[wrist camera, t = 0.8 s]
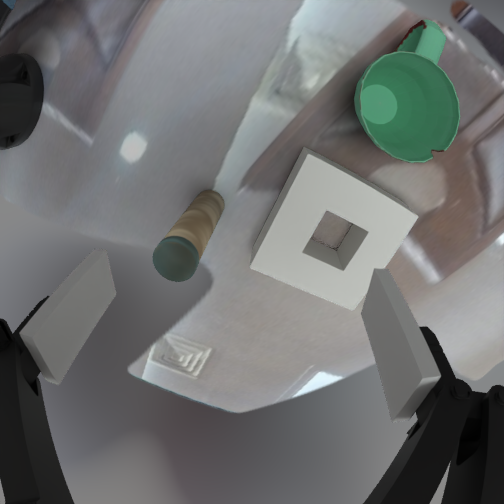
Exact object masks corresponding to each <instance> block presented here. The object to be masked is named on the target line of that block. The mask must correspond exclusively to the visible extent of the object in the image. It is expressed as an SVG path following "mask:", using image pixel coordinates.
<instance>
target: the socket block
mask: <svg viewBox="0 0 504 504" xmlns="http://www.w3.org/2000/svg"><path fill="white" fill-rule="evenodd" d="M326 210H328V211H330V212H332V213H334V214H335V215H337V216H339V217H341V218H343V219H345V220H347V221H349V222H351V223H353V225H352V226H351V228H350V230H349V231H348V233H347V235H346V236H345V238H344V239H343V241H342V243H341V244H340V246H339V247H338V249H337V251H336V250H334V249H332V248H330V247H328V246H325V245H323V244H321V243H319V242H317V241H315V240H313V239H311V236H312V234H313V233H314V231H315V229H316V227H317V226H318V224H319V222H320V220H321V219H322V217H323V215H324V213H325V212H326ZM418 217H419V216H417V215H416V214H415V213H414V212H413V211H412V210H411V209H410V208H409V207H408V206H407V205H406V204H405V203H403V202H402V201H401V200H399V199H398V198H396V197H394V196H393V195H391V194H389V193H388V192H386V191H385V190H383V189H381V188H380V187H378V186H376V185H374V184H373V183H371V182H369V181H368V180H366V179H364V178H362V177H361V176H359V175H357V174H355V173H354V172H352V171H350V170H348V169H346V168H345V167H343V166H341V165H339V164H337V163H335V162H333V161H332V160H330V159H328V158H326V157H324V156H322V155H320V154H318V153H316V152H314V151H312V150H310V149H308V148H306V147H303V149H302V151H301V153H300V155H299V157H298V159H297V161H296V163H295V165H294V167H293V169H292V171H291V173H290V175H289V177H288V179H287V181H286V183H285V185H284V187H283V189H282V191H281V193H280V195H279V197H278V199H277V201H276V203H275V205H274V207H273V209H272V210H271V212H270V214H269V216H268V218H267V220H266V222H265V224H264V226H263V228H262V230H261V232H260V234H259V236H258V238H257V240H256V242H255V244H254V246H253V249H252V255H251V260H250V266H249V268H251V269H253V270H255V271H258V272H260V273H262V274H265V275H267V276H270V277H272V278H274V279H277V280H279V281H282V282H284V283H286V284H289V285H291V286H294V287H296V288H298V289H301V290H303V291H306V292H308V293H310V294H313V295H315V296H318V297H320V298H323V299H325V300H327V301H330V302H332V303H335V304H337V305H340V306H342V307H345V308H347V309H350V310H352V311H353V310H354V309H355V308H356V306H357V305H358V304H359V302H360V301H361V300H362V298H363V297H364V296H365V294H366V293H367V292H368V288H369V285H370V281H371V278H372V274H373V270H374V268H378V269H384V268H385V267H386V265H387V264H388V263H389V261H390V260H391V258H392V257H393V255H394V254H395V252H396V251H397V249H398V248H399V246H400V245H401V243H402V242H403V240H404V239H405V237H406V236H407V234H408V233H409V231H410V229H411V228H412V226H413V225H414V223H415V222H416V220H417V218H418Z"/></svg>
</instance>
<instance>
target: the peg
mask: <svg viewBox="0 0 504 504" xmlns="http://www.w3.org/2000/svg"><path fill="white" fill-rule="evenodd" d="M223 210H224V200H223V198H222V197H221V195H220V194H219V193H217V192H215V191H212V190H206V191H203V192H201V193H200V194H199V195H198V196H197V197H196V198H195V200H194V201H193V202H192V203H191V205H190V206H189V207H188V208H187V210H186V211H185V212H184V213H183V215H182V216H181V217H180V218H179V220H178V221H177V222H176V223H175V225H174V226H173V227H172V229H171V230H170V231H169V232H168V234H167V235H166V236H165V238H164V239H163V240H162V241H161V242H160V243H159V244H158V246H157V247H156V248H155V250H154V253H153V263H154V266H155V268H156V270H157V271H158V272H159V273H160V274H161V275H162V276H163V277H165V278H166V279H168V280H171V281H175V282H181V281H185V280H188V279H189V278H191V277H192V276H193V274H194V272H195V271H196V268H197V266H198V264H199V260H200V258H201V256H202V254H203V252H204V250H205V248H206V246H207V243H208V241H209V239H210V237H211V235H212V233H213V231H214V229H215V227H216V225H217V222H218V220H219V218H220V216H221V214H222V212H223Z"/></svg>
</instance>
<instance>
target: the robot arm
mask: <svg viewBox="0 0 504 504" xmlns="http://www.w3.org/2000/svg"><path fill="white" fill-rule="evenodd" d="M15 2H16V0H0V30H1V28H2V26H3V24H4V22H5V20H6V19H7V17H8V15H9V13H10V12H11V10H13V8H14V4H15ZM42 100H43V80H42V74H41V71H40V68H39V66H38V64H37V62H36V61H35V60H34V58H32V57H31V56H30V55H27V54H9V55H6V56H3V57H1V58H0V150H4V149H9V148H11V147H14V146H17V145H19V144H21V143H22V142H24V141H25V140H26V139H27V138H28V137H29V135H30V134H31V132H32V131H33V129H34V127H35V125H36V123H37V120H38V117H39V114H40V111H41V106H42ZM115 296H116V290H115V286H114V282H113V277H112V273H111V268H110V264H109V260H108V254H107V250H103V249H94V250H93V251H92V252H91V253H90V254H89V255H88V256H87V257H86V258H85V259H84V260H83V261H82V262H81V263H80V265H78V266H77V267H76V268H75V269H74V271H73V272H72V273H71V274H70V275H69V276H68V277H67V278H66V279H65V280H64V281H63V283H62V284H61V285H60V286H59V287H58V288H57V289H56V290H55V291H54V292H53V293H52V295H51V296H47V297H46V298H44V299H43V300H41V301H40V302H39V303H38V304H37V305H36V307H35V308H34V310H32V311H31V312H30V313H29V316H27V317H26V319H24V321H23V322H22V323H21V324H20V325H19V327H18V328H17V329H16V330H15V332H14V333H13V334H12V332H11V330H10V328H9V326H8V324H7V322H6V321H5V320H4V319H0V479H1V484H2V488H3V492H4V496H5V504H74V502H73V499H72V497H71V494H70V492H69V489H68V486H67V484H66V481H65V478H64V475H63V473H62V469H61V466H60V463H59V460H58V457H57V454H56V450H55V447H54V443H53V440H52V437H51V432H50V428H49V424H48V420H47V416H46V411H45V406H44V401H43V396H42V390H41V385H40V381H39V379H38V377H37V376H38V375H39V373H40V372H41V373H42V375H43V376H44V378H45V379H46V381H49V382H51V383H54V384H57V385H60V383H61V381H62V379H63V378H64V376H65V374H66V372H67V371H68V369H69V367H70V366H71V364H72V362H73V361H74V359H75V357H76V355H77V354H78V352H79V351H80V349H81V348H82V346H83V344H84V343H85V341H86V340H87V338H88V336H89V335H90V333H91V332H92V330H93V329H94V327H95V325H96V324H97V322H98V321H99V319H100V318H101V316H102V315H103V313H104V312H105V310H106V309H107V307H108V306H109V304H110V303H111V301H112V300H113V298H114V297H115ZM361 315H362V318H363V321H364V324H365V328H366V331H367V334H368V337H369V340H370V344H371V347H372V350H373V354H374V357H375V361H376V364H377V367H378V371H379V375H380V378H381V382H382V386H383V389H384V393H385V397H386V401H387V404H388V409H389V413H390V417H391V421H392V423H393V422H400V421H407V420H410V418H411V417H412V416H413V415H414V413H415V412H416V415H417V418H418V420H417V422H416V423H415V424H414V425H413V426H412V427H411V429H410V430H409V431H408V432H407V434H408V437H407V438H406V440H405V442H404V444H403V445H402V447H401V449H400V450H399V452H398V454H397V456H396V457H395V459H394V460H393V462H392V463H391V465H390V467H389V468H388V469H387V471H386V472H385V474H384V475H383V477H382V479H381V480H380V481H379V483H378V484H377V486H376V487H375V488H374V490H373V491H372V493H371V494H370V495H369V497H368V498H367V499H366V501H365V502H364V503H363V504H429V503H430V501H431V500H432V498H433V496H434V494H435V492H436V490H437V488H438V486H439V484H440V482H441V480H442V478H443V476H444V474H445V472H446V470H447V467H448V465H449V463H450V467H449V472H448V477H447V482H446V486H445V490H444V495H443V498H442V503H441V504H504V387H503V386H501V385H495V386H492V387H491V389H490V390H489V391H488V392H487V393H482V392H475V391H472V389H471V388H470V386H469V385H468V384H467V383H466V382H464V381H463V380H460V379H456V377H455V375H454V373H453V371H452V368H451V366H450V364H449V362H448V360H447V358H446V356H445V354H444V353H443V349H442V347H441V345H439V344H440V343H439V341H438V339H437V337H436V336H435V334H434V333H433V332H432V331H431V330H430V329H429V328H428V327H419V326H418V324H417V322H416V320H415V318H414V316H413V314H412V312H411V310H410V308H409V306H408V304H407V302H406V300H405V299H404V297H403V295H402V293H401V291H400V289H399V287H398V286H397V284H396V282H395V280H394V278H393V276H392V275H391V273H390V271H389V269H378V268H374V270H373V274H372V278H371V281H370V285H369V288H368V292H367V295H366V299H365V302H364V305H363V309H362V312H361ZM450 461H451V462H450Z"/></svg>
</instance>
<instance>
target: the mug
mask: <svg viewBox="0 0 504 504" xmlns="http://www.w3.org/2000/svg"><path fill="white" fill-rule="evenodd" d="M445 41H446V36H445V35H444V34H443V32H442V30H441V29H440V27H439V26H438V25H437V24H436V23H435V22H432V21H430V20H421V21H420V22H418V23H417V24H416V25H414V26H413V27H411V28H410V30H409V31H408V33H407V34H406V35H405V37H404V38H403V40H402V41H401V43H400V44H399V45H398V47H397V48H396V50H395V51H394V52H393V53H389V54H386V55H383V56H381V57H379V58H378V59H377V60H376V61H374V62H373V63H372V64H370V65H369V66H368V67H367V69H366V70H365V72H364V73H363V75H362V77H361V78H360V80H359V82H358V83H357V87H356V92H355V97H354V103H355V112H356V114H357V116H358V119H359V121H360V123H361V125H362V126H363V128H364V130H365V132H366V133H367V135H368V136H369V137H370V138H371V140H372V141H373V142H374V144H375V145H376V146H377V147H379V148H380V149H381V150H383V151H384V152H386V153H387V154H388V155H390V156H391V157H393V158H396V159H399V160H402V161H405V162H408V163H424V162H427V161H429V160H431V159H433V158H434V157H433V154H432V153H431V152H432V151H437V152H443V151H445V150H447V149H448V148H449V147H450V145H451V143H452V141H453V140H454V138H455V136H456V134H457V130H458V126H459V121H460V107H459V100H458V97H457V94H456V91H455V88H454V85H453V84H452V82H451V81H450V79H449V77H448V76H447V74H446V73H445V72H444V70H443V69H441V68H440V67H439V66H438V65H437V63H438V61H439V58H440V56H441V53H442V51H443V48H444V44H445Z"/></svg>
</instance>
